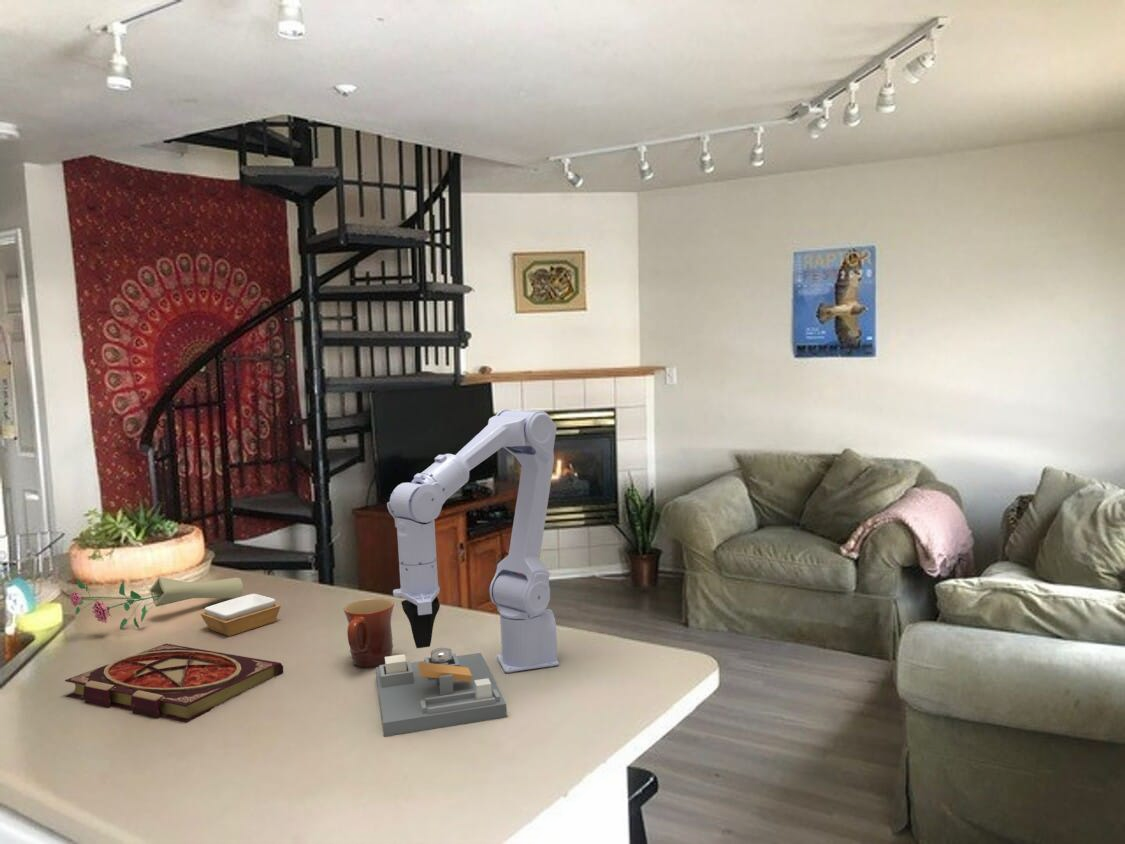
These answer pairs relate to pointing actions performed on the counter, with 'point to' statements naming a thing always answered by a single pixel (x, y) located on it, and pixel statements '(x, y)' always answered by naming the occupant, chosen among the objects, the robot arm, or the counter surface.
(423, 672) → the rocker
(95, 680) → the book
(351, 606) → the mug
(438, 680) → the console
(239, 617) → the soap dish
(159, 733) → the counter surface
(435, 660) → the button round
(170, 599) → the flower vase
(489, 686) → the slider knob
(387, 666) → the button square
